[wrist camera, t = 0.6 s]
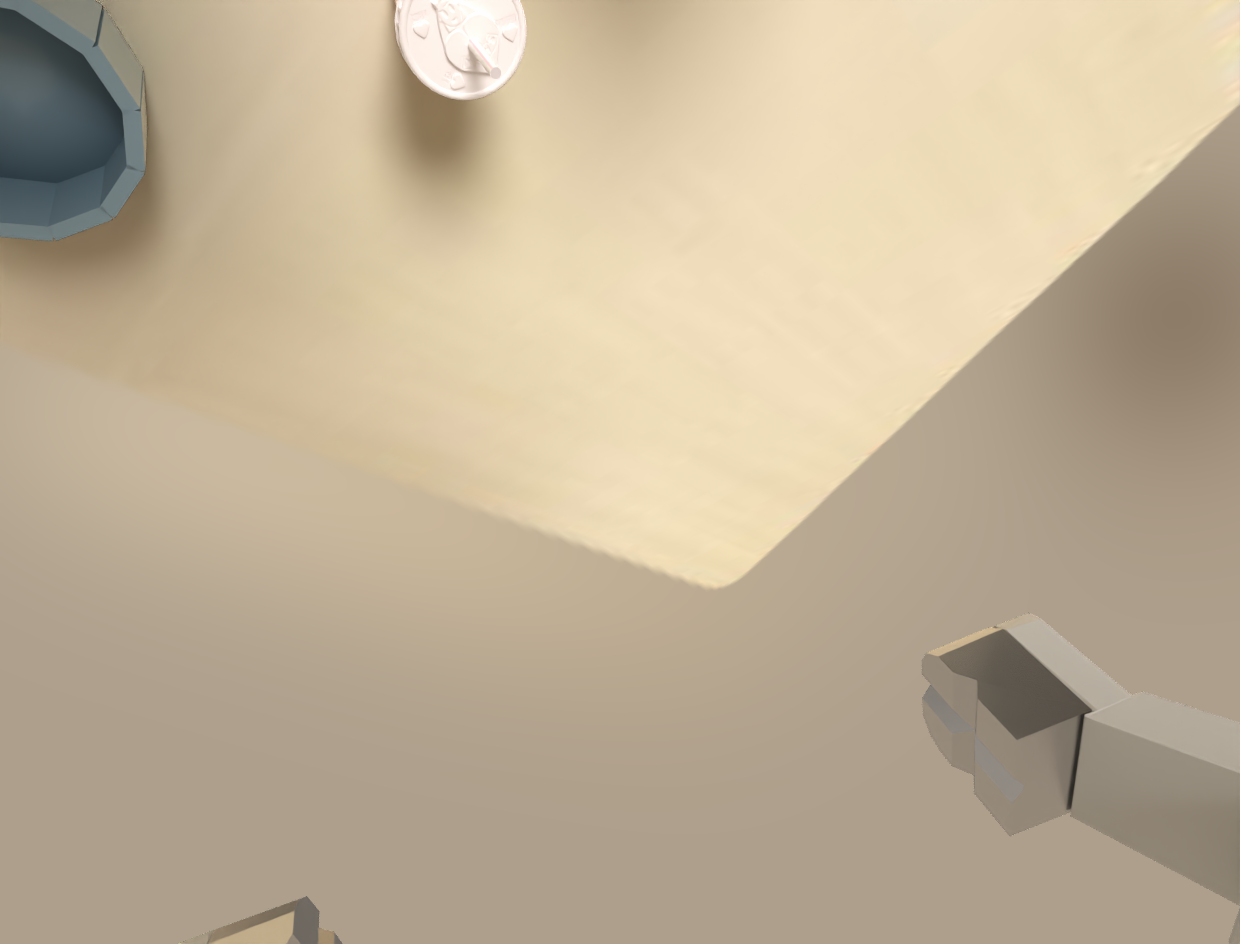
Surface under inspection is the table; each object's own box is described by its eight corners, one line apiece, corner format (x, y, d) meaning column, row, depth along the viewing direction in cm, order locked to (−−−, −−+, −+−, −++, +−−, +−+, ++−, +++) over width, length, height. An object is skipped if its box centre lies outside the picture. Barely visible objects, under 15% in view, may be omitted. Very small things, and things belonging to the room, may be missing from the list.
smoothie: (421, 66, 48) (480, 162, 39) (339, -29, 44) (385, 54, 34) (501, -9, 47) (581, 71, 38) (426, -116, 42) (496, -54, 33)
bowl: (-176, -88, 35) (-219, -56, 31) (137, -21, 41) (134, 14, 37) (-107, 172, 42) (-135, 225, 38) (152, 200, 48) (150, 249, 44)
